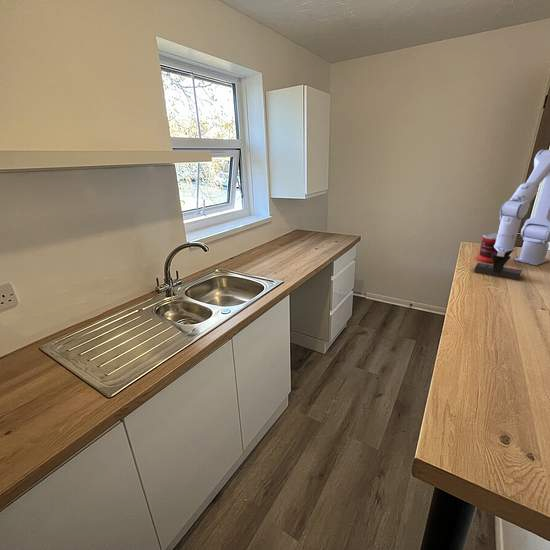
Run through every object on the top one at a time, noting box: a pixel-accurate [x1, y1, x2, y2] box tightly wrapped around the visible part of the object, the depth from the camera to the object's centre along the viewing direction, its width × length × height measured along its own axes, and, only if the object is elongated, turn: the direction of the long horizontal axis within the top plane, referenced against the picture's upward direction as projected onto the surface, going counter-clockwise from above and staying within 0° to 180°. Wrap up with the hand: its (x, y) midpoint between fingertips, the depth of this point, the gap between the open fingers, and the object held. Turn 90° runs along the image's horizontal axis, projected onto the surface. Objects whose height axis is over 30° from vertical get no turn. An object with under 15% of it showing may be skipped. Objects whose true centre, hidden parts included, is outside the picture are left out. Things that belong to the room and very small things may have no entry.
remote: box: [473, 262, 523, 281], centre depth 115 cm, size 14×5×3 cm, turn 49°
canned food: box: [477, 232, 498, 264], centre depth 127 cm, size 8×8×11 cm
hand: (498, 269), depth 114 cm, fingers open, 7 cm apart
